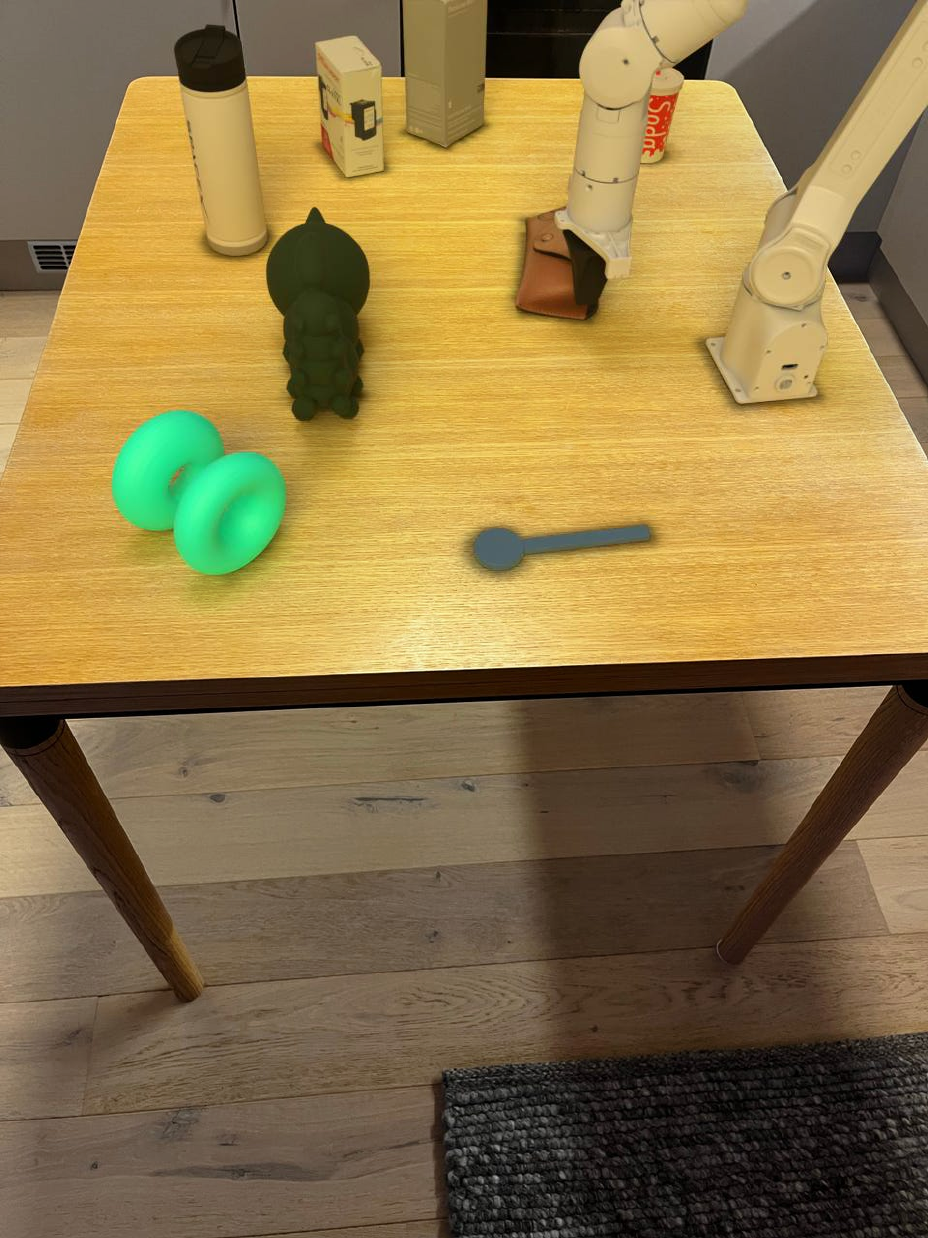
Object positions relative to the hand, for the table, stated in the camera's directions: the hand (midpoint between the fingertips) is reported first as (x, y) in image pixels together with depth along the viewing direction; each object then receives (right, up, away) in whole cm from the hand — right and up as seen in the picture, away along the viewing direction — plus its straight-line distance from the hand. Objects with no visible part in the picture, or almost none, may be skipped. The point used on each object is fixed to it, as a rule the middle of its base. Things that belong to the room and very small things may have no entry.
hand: (586, 302), depth 98 cm
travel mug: (-36, +9, +9) cm, 38 cm away
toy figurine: (-25, -8, -4) cm, 26 cm away
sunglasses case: (-2, +6, +8) cm, 10 cm away
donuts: (-32, -25, -17) cm, 44 cm away
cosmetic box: (-14, +30, +26) cm, 42 cm away
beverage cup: (+10, +25, +24) cm, 36 cm away
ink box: (-25, +23, +21) cm, 40 cm away
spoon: (-5, -25, -17) cm, 31 cm away
